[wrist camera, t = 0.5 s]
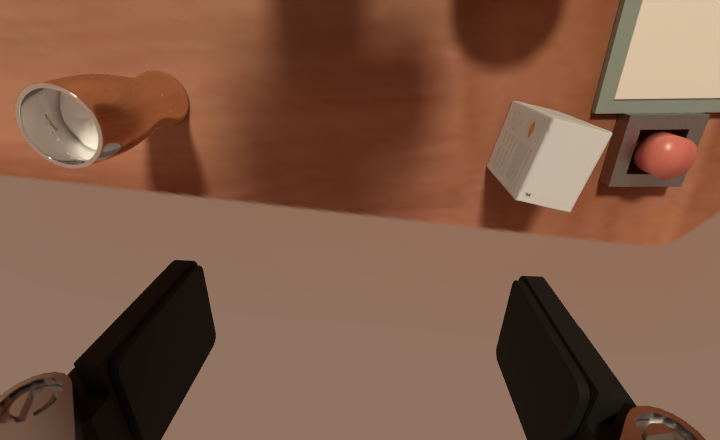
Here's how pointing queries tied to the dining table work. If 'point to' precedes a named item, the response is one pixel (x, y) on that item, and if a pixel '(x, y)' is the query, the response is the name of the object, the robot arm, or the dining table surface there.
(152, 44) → the dining table surface
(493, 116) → the dining table surface
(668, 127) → the button housing
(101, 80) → the beer glass
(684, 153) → the red rounded knob
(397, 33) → the dining table surface
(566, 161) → the small box
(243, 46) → the dining table surface
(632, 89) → the board
